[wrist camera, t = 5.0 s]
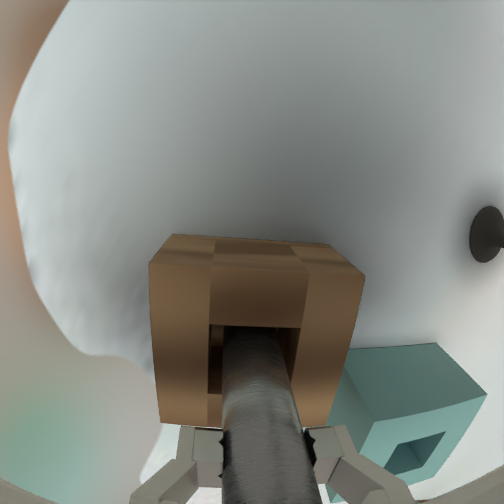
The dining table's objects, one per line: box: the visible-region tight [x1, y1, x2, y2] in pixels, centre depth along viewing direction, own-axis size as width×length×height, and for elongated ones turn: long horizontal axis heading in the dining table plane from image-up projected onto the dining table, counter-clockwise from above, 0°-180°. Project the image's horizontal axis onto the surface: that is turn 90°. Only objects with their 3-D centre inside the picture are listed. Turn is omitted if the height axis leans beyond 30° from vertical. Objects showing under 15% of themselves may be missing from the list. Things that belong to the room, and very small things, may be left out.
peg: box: [222, 325, 322, 504], centre depth 12 cm, size 3×3×12 cm
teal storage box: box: [314, 343, 487, 503], centre depth 20 cm, size 10×10×8 cm
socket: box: [149, 234, 365, 428], centre depth 18 cm, size 10×10×6 cm
